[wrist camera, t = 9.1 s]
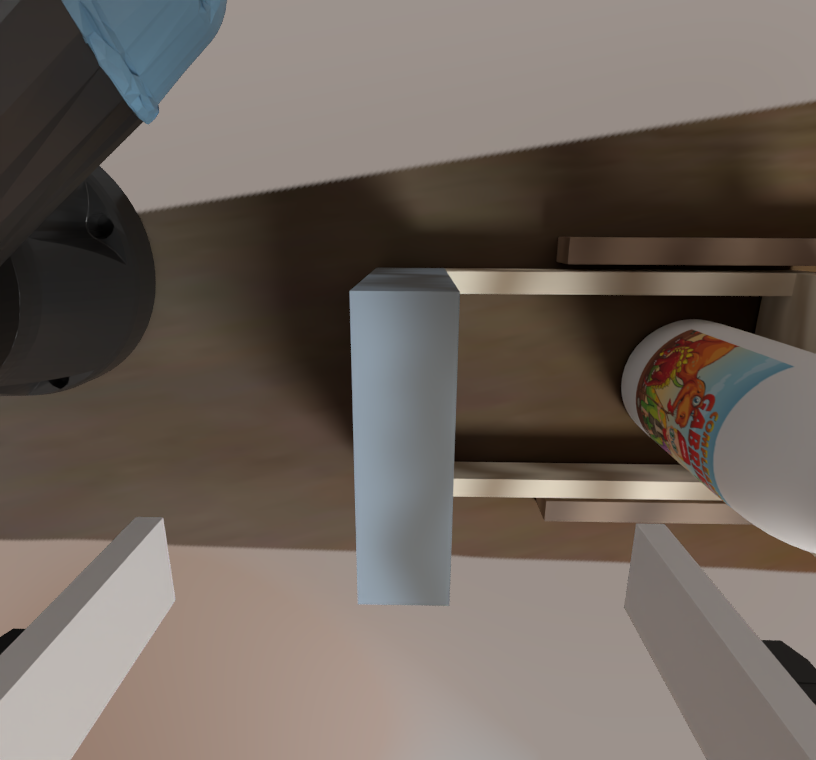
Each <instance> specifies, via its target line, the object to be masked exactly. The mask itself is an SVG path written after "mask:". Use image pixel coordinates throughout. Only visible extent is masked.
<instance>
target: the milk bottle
mask: <svg viewBox="0 0 816 760" xmlns="http://www.w3.org/2000/svg"><path fill="white" fill-rule="evenodd" d="M621 392H622V399H623V403H624V406H625V408H626V410H627V412H628V414H629V415H630V417H631V418H632V420H633V421H634V422H635V423H636V424H637V425H638V426H639V427H640V428H641V429H642V430H643V431H644V432H645V433H646V434H647V435H649V436H650V437H651V438H652V439H653V440H654V441H655V442H656V443H657V444H658V445H660V446H661V447H662V448H663V449H664V450H665V451H666V452H667V453H669V454H670V455H671V456H672V457H673V458H674V459H675V460H676V461H677V462H679V463H680V464H681V465H682V466H683V467H684V468H685V469H686V470H688V471H689V472H690V473H691V474H692V475H693V476H694V477H696V478H697V479H698V480H699V481H700V482H701V483H703V484H704V485H705V486H706V487H707V488H708V489H709V490H711V491H712V492H713V493H714V494H715V495H716V496H717V497H719V498H720V499H721V500H722V501H724V502H725V503H726V504H727V505H729V506H730V507H731V508H732V509H734V510H735V511H736V512H737V513H739V514H740V515H741V516H742V517H744V518H745V519H746V520H747V521H749V522H751V523H752V524H754V525H755V526H757V527H758V528H760V529H761V530H763V531H765V532H766V533H768V534H770V535H771V536H773V537H775V538H777V539H779V540H781V541H783V542H786V543H788V544H790V545H793V546H795V547H798V548H800V549H803V550H806V551H809V552H812V553H815V554H816V354H815V353H812V352H809V351H806V350H803V349H800V348H796V347H793V346H790V345H787V344H784V343H781V342H778V341H775V340H771V339H768V338H765V337H762V336H759V335H755V334H752V333H749V332H746V331H743V330H739V329H736V328H733V327H730V326H726V325H723V324H719V323H716V322H711V321H707V320H701V319H688V320H681V321H676V322H673V323H670V324H667V325H665V326H663V327H661V328H659V329H657V330H655V331H654V332H652V333H651V334H650V335H648V336H647V337H645V338H644V339H643V340H642V341H641V342H640V343H639V344H638V345H637V346H636V348H635V349H634V351H633V352H632V354H631V355H630V356H629V359H628V361H627V363H626V365H625V368H624V372H623V376H622V383H621Z"/></svg>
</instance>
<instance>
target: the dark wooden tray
mask: <svg viewBox="0 0 816 760" xmlns="http://www.w3.org/2000/svg"><path fill="white" fill-rule="evenodd" d="M556 262H560V263H565V264H618V265H773V266H816V238H678V237H558V249H557V260H556ZM536 502H537V505H538V507H539V509H540V512H541V514H542V516H543V519H544V521H577V522H638V523H700V524H752V523H751V522H749V521H747V520H746V519H745V518H744V517H742V516H741V515H740V514H739V513H737V512H736V511H735V510H734V509H732V508H731V507H730V506H729V505H727V504H726V503H725V502H724V501H722V500H660V499H595V498H536Z"/></svg>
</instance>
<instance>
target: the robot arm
mask: <svg viewBox="0 0 816 760" xmlns="http://www.w3.org/2000/svg"><path fill="white" fill-rule="evenodd" d="M226 3H227V0H0V396H26V395H44V394H51V393H56V392H61V391H64V390H68V389H71V388H74V387H77V386H79V385H81V384H83V383H86V382H88V381H90V380H92V379H95V378H97V377H99V376H101V375H103V374H105V373H107V372H108V371H110V370H112V369H113V368H115V367H116V366H117V365H119V364H120V363H121V362H122V361H123V360H124V359H125V358H126V357H127V356H128V355H129V354H130V353H131V352H132V351H133V350H134V348H135V347H136V346H137V344H138V343H139V341H140V340H141V338H142V336H143V334H144V332H145V330H146V328H147V326H148V323H149V320H150V317H151V314H152V310H153V305H154V298H155V284H156V283H155V268H154V261H153V255H152V251H151V247H150V243H149V240H148V237H147V234H146V232H145V229H144V227H143V225H142V222H141V220H140V218H139V216H138V214H137V213H136V211H135V209H134V207H133V205H132V204H131V202H130V201H129V199H128V198H127V196H126V195H125V194H124V192H123V191H122V190H121V188H120V187H119V186H118V185H117V184H116V182H115V181H114V180H113V179H112V178H111V177H110V176H109V175H108V174H107V173H106V172H105V171H104V170H103V169H102V168H101V167H100V166H99V165H100V164H101V163H102V162H103V161H104V160H105V159H106V158H107V157H108V156H109V155H110V154H111V153H112V152H113V151H114V150H115V149H116V148H117V147H118V146H119V145H120V144H121V143H122V142H123V141H124V140H125V139H126V138H127V137H128V136H129V135H130V134H131V133H132V132H133V131H134V130H135V129H136V128H137V127H138V126H139V125H140V124H141V123H142V122H145V123H146V124H149V123H151V122H152V121H153V120H154V119H155V118H156V116H157V115H158V113H159V107H158V104H159V103H160V101H161V100H162V99H163V98H164V97H165V95H166V94H167V93H168V92H169V90H170V89H171V88H172V87H173V86H174V84H175V83H176V82H177V81H178V79H179V78H180V77H181V76H182V74H183V73H184V72H185V71H186V70H187V68H188V67H189V66H190V65H191V64H192V63H193V62H194V61H195V59H196V58H197V57H198V56H199V55H200V54H201V53H202V51H203V50H204V49H205V48H206V47H207V46H208V44H209V43H210V42H211V41H212V39H213V38H214V37H215V35H216V34H217V32H218V30H219V28H220V26H221V24H222V21H223V18H224V15H225V10H226ZM174 601H175V593H174V587H173V580H172V573H171V567H170V560H169V553H168V547H167V540H166V533H165V527H164V520H163V517H136V518H135V519H134V520H133V521H132V522H131V523H130V524H129V525H128V526H127V527H126V528H125V529H124V530H123V531H122V532H121V533H120V534H119V535H118V536H117V537H116V538H115V539H114V540H113V541H112V542H111V543H110V544H109V545H108V546H107V547H106V548H105V549H104V550H103V551H102V552H101V553H100V554H99V555H98V556H97V557H96V558H95V559H94V560H93V561H92V562H91V563H90V564H89V565H88V566H87V567H86V568H85V569H84V570H83V572H81V574H80V575H79V576H78V577H77V578H76V579H75V580H74V581H73V582H72V583H71V584H70V585H69V586H68V587H67V588H66V589H65V590H64V591H63V592H62V593H61V594H60V595H59V596H58V597H57V598H56V599H55V600H54V601H53V602H52V603H51V604H50V605H49V606H48V607H47V608H46V609H45V610H44V611H43V612H42V613H41V614H40V615H39V616H38V617H37V618H36V619H35V620H34V621H33V622H32V623H31V624H30V625H29V626H28V627H27V628H26V629H12V630H11V631H9V632H8V633H6V634H4V635H3V636H1V637H0V760H71V758H72V756H73V755H74V754H75V752H76V751H77V749H78V748H79V746H80V745H81V743H82V742H83V740H84V738H85V737H86V736H87V734H88V732H89V731H90V729H91V728H92V726H93V725H94V723H95V722H96V720H97V719H98V717H99V716H100V714H101V713H102V711H103V710H104V708H105V707H106V705H107V704H108V702H109V701H110V699H111V697H112V696H113V694H114V693H115V691H116V690H117V688H118V687H119V685H120V684H121V682H122V681H123V679H124V677H125V676H126V675H127V673H128V672H129V670H130V669H131V667H132V665H133V664H134V662H135V661H136V659H137V658H138V656H139V655H140V653H141V652H142V650H143V649H144V647H145V646H146V644H147V643H148V641H149V640H150V638H151V637H152V635H153V633H154V632H155V631H156V629H157V627H158V626H159V624H160V623H161V621H162V620H163V618H164V617H165V615H166V614H167V612H168V611H169V609H170V608H171V606H172V605H173V603H174ZM624 608H625V610H626V612H627V614H628V615H629V617H630V619H631V621H632V623H633V625H634V627H635V628H636V630H637V632H638V634H639V636H640V638H641V639H642V641H643V643H644V645H645V647H646V649H647V651H648V652H649V654H650V656H651V658H652V660H653V662H654V663H655V665H656V667H657V669H658V671H659V672H660V674H661V676H662V678H663V680H664V682H665V684H666V686H667V687H668V689H669V691H670V693H671V695H672V696H673V698H674V700H675V702H676V704H677V706H678V708H679V709H680V711H681V713H682V715H683V717H684V718H685V721H686V722H687V724H688V726H689V728H690V730H691V732H692V733H693V735H694V737H695V739H696V741H697V743H698V744H699V746H700V748H701V750H702V752H703V754H704V755H705V757H706V759H707V760H816V669H815V667H814V666H813V665H812V664H811V663H810V662H809V661H808V660H807V659H806V658H804V657H803V656H801V655H800V654H799V653H797V652H796V651H795V650H793V649H792V648H790V647H789V646H787V645H786V644H785V643H783V642H782V641H771V640H761V639H760V638H759V637H758V636H757V635H756V633H755V632H754V631H753V630H752V629H751V627H750V626H749V625H748V624H747V623H746V621H745V620H744V619H743V618H742V617H741V615H740V614H739V613H738V612H737V611H736V610H735V608H734V607H733V606H732V605H731V604H730V602H729V601H728V600H727V599H726V598H725V596H724V595H723V594H722V593H721V591H720V590H719V589H718V588H717V587H716V585H715V584H714V583H713V582H712V581H711V579H710V578H709V577H708V576H707V575H706V573H705V572H704V571H703V570H702V569H701V567H700V566H699V565H698V564H697V563H696V561H695V560H694V559H693V558H692V557H691V555H690V554H689V553H688V552H687V551H686V549H685V548H684V547H683V546H682V545H681V543H680V542H679V541H678V540H677V539H676V537H675V536H674V535H673V534H672V533H671V531H670V530H669V529H668V528H667V527H666V525H665V524H636V529H635V536H634V543H633V550H632V556H631V563H630V571H629V577H628V584H627V591H626V598H625V605H624Z"/></svg>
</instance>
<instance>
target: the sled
mask: <svg viewBox="0 0 816 760" xmlns="http://www.w3.org/2000/svg"><path fill="white" fill-rule="evenodd" d="M349 292H350V329H351V366H352V403H353V440H354V477H355V514H356V551H357V588H358V604H378V605H380V604H382V605H429V606H431V605H432V606H449V601H450V571H451V542H452V512H453V496H464V497H529V498H595V499H660V500H721V499H720V498H719V497H717V496H716V495H715V494H714V493H713V492H712V491H711V490H709V489H708V488H707V487H706V486H705V485H704V484H703V483H701V482H700V481H699V480H698V479H697V478H696V477H694V476H693V475H692V474H691V473H690V472H689V471H688V470H686V469H685V468H684V467H683V466H682V465H657V464H586V463H515V462H454V452H455V422H456V392H457V361H458V331H459V301H460V294H564V295H695V296H762V300H761V305H760V310H759V315H758V320H757V325H756V330H755V335H759V336H762V337H765V338H768V339H771V340H775V341H778V342H781V343H784V344H787V345H790V346H793V347H796V348H800V349H803V350H806V351H809V352H812V353H815V354H816V272H808V271H798V270H647V269H496V268H375V269H374V270H373V271H372V272H371V273H370V274H368V275H367V276H366V277H365V278H364V279H363V280H362V281H360V282H359V283H358V284H357V285H356V286H355V287H353V288H352V289H351V290H350V291H349ZM810 553H812V552H810ZM812 554H813V555H814V556H815V557H816V554H815V553H812Z"/></svg>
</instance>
